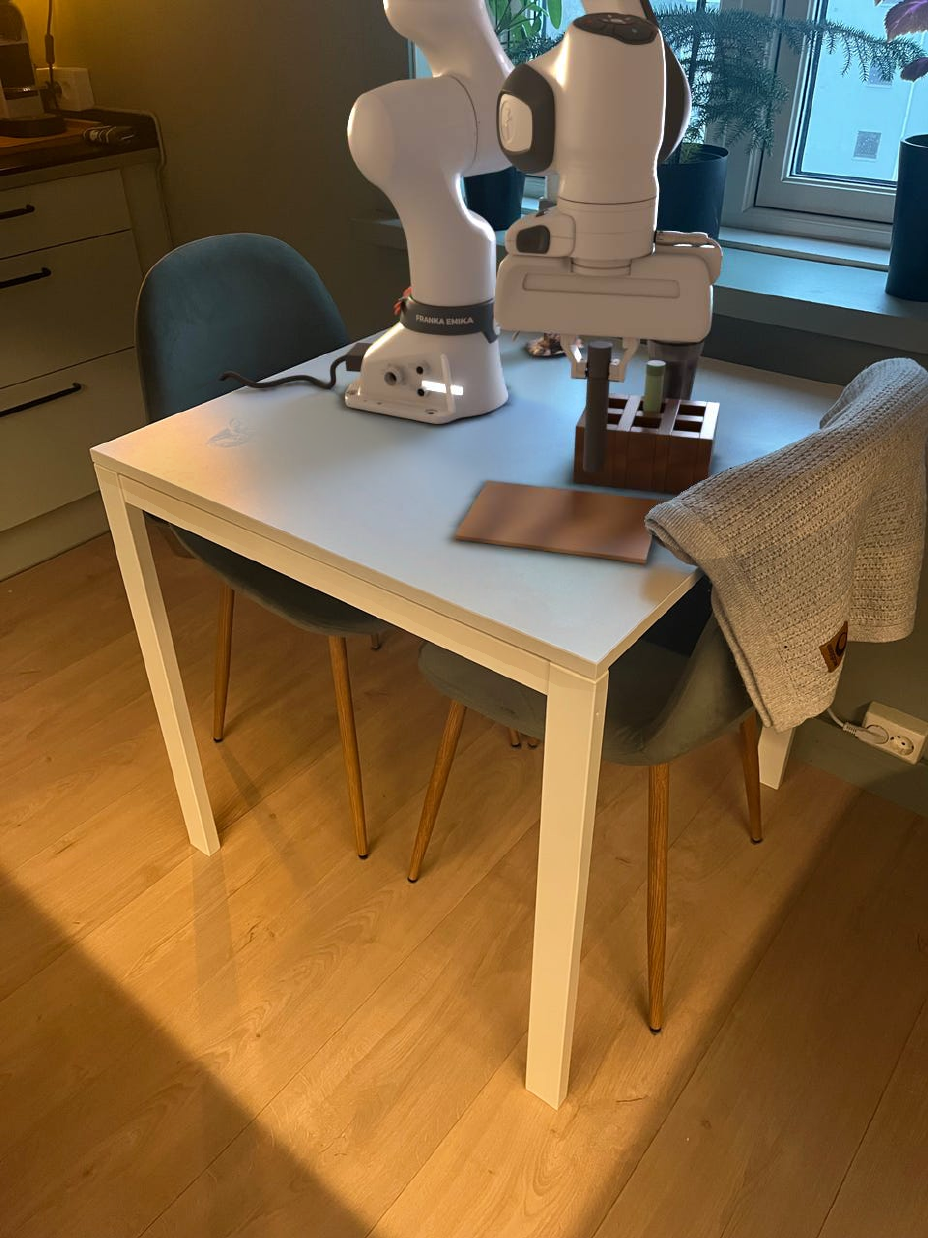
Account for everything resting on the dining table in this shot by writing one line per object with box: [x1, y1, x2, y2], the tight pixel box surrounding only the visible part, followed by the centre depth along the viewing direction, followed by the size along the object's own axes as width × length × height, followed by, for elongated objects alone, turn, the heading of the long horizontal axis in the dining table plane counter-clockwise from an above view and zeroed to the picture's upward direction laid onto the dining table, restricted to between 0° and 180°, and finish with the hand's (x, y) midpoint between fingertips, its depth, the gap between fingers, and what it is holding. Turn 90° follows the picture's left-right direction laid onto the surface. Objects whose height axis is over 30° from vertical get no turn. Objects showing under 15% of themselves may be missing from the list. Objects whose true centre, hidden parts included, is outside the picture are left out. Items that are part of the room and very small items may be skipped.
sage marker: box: [643, 360, 665, 413], centre depth 111 cm, size 2×2×12 cm
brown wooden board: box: [454, 480, 663, 565], centre depth 103 cm, size 20×13×1 cm, turn 73°
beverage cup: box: [646, 335, 707, 400], centre depth 118 cm, size 7×7×20 cm
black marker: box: [583, 340, 613, 473], centre depth 95 cm, size 2×2×13 cm
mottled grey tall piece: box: [511, 331, 585, 357], centre depth 142 cm, size 8×11×20 cm
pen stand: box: [572, 392, 721, 495], centre depth 111 cm, size 15×10×7 cm
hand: (598, 378), depth 93 cm, fingers closed on black marker, 2 cm apart
